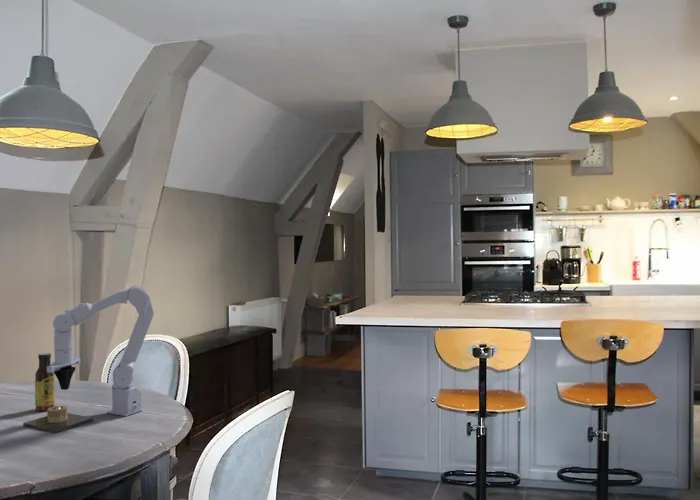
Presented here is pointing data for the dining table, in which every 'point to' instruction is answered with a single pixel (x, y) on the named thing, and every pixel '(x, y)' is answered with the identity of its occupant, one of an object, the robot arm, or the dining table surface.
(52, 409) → the ring
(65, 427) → the hub
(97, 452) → the dining table surface
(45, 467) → the dining table surface
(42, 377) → the sauce bottle
